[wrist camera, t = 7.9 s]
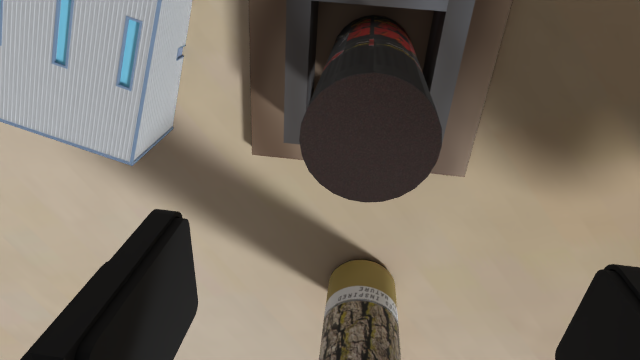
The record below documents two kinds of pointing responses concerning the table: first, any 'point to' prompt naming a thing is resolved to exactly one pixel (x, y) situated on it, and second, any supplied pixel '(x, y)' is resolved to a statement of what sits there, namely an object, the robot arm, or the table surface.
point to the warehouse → (93, 71)
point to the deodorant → (371, 115)
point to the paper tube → (360, 314)
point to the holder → (316, 45)
